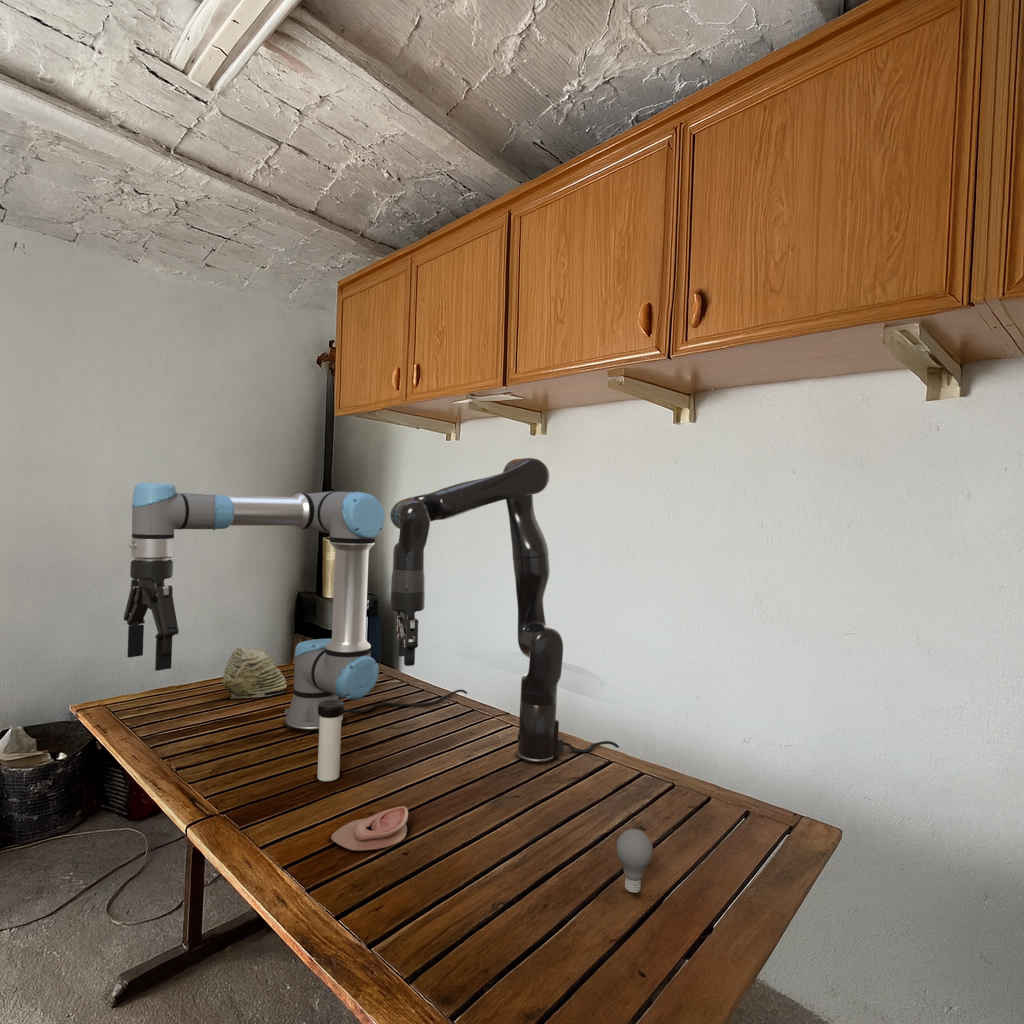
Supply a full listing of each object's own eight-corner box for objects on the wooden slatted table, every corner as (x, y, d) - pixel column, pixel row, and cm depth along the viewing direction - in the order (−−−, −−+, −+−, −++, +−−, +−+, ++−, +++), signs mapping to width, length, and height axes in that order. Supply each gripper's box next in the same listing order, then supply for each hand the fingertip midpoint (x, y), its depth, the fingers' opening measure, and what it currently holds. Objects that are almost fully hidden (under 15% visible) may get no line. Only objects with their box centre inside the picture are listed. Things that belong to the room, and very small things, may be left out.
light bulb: (610, 879, 108) (613, 822, 108) (644, 879, 109) (647, 822, 109) (619, 902, 102) (622, 840, 102) (655, 901, 103) (658, 840, 103)
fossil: (218, 695, 195) (220, 647, 195) (278, 685, 208) (279, 640, 207) (228, 703, 189) (230, 653, 188) (289, 692, 201) (290, 645, 201)
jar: (340, 771, 146) (343, 701, 146) (337, 781, 141) (340, 708, 141) (319, 772, 145) (321, 702, 145) (315, 781, 141) (318, 708, 140)
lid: (344, 709, 146) (345, 699, 146) (342, 717, 141) (342, 707, 141) (319, 709, 146) (320, 699, 145) (316, 717, 140) (316, 707, 140)
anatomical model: (323, 824, 115) (352, 795, 126) (322, 845, 115) (351, 815, 126) (392, 835, 112) (415, 805, 123) (391, 857, 112) (414, 825, 123)
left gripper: (108, 554, 134) (104, 654, 134) (159, 565, 118) (155, 678, 119) (146, 552, 140) (143, 648, 140) (199, 563, 124) (195, 671, 124)
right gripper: (431, 593, 136) (428, 668, 137) (418, 583, 150) (416, 652, 150) (395, 593, 134) (393, 670, 134) (386, 584, 147) (384, 653, 148)
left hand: (148, 662), depth 129 cm, fingers open, 13 cm apart
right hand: (406, 660), depth 142 cm, fingers open, 8 cm apart
